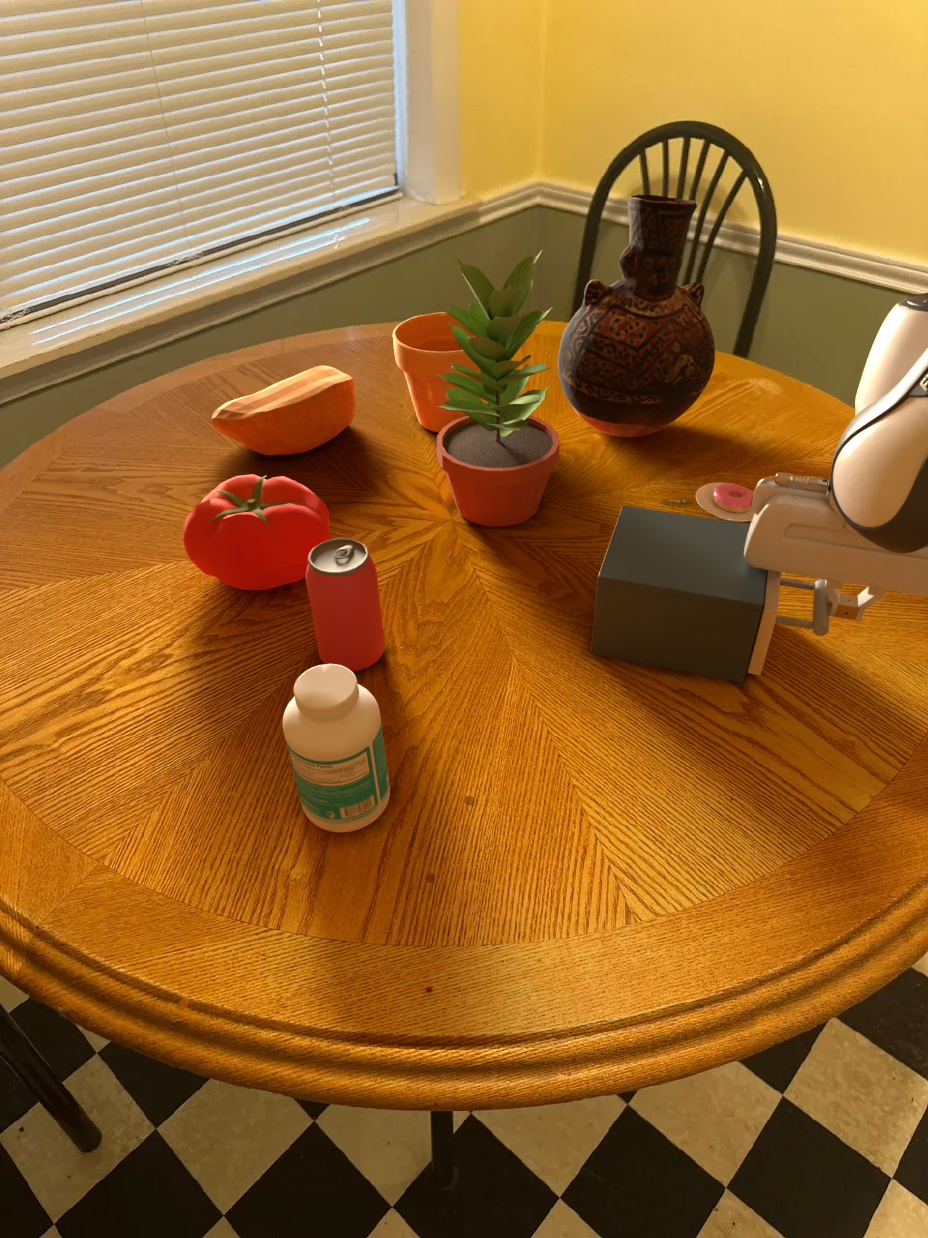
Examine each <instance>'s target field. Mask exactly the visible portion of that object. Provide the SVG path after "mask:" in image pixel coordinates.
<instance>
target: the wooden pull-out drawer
mask: <svg viewBox="0 0 928 1238" xmlns="http://www.w3.org/2000/svg"><path fill="white" fill-rule="evenodd" d="M781 587H787V588H793V589H798V590H804V591H805V590H806V591H811V592H812V591H813V592H812V593H813V594H812V620H808V619H803V618H797V617H792V616H786V615H780V614H778V613H779V602H780V591H781ZM829 603H830V598H829V596H828V593H827V591H826V589H825V579H817V580H816V581H815V582H811V581H807V580H806V581H805V580H800V579H795V578H789V577H782V572H776V571H770V570H767V572H766V582H765V592H764V602H763V608H762V611H761V615H760V619H759V623H758V627H757V631H756V635H755V639H754V642H753V646H752V650H751V654H750V658H749V662H748V666H747V670H746V673H747V674H752V675H756V676H761V675H762V671H763V669H764V664H765V661H766V657H767V653H768V649H769V647H770V646H769V645H770V642H771V638H772V635H773V631H774V628H775V624H777V625H783V626H789V627H795V628H799V629H800V628H801V629H808V630H811V631H812V633H813V634H814V635H815V636H817V637H824V636H826V635H828V633H829V632H830V616H829Z"/></svg>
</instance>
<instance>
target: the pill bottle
mask: <svg viewBox="0 0 928 1238" xmlns="http://www.w3.org/2000/svg"><path fill="white" fill-rule="evenodd" d="M293 695H294V696H293V697H292V699H290V701H289V702H288V704H287V706H286V708H285V710H284V712H283V717H282V731H283V735H284V739H285V744H286V748H287V751H288V756H289V759H290V760H289V761H290V763H291V767H292V773H293V776H294V780H295V784H296V785H295V786H296V788H297V792H298V796H299V800H300V804H301V807H302V810H303V813H304V814H305V816H306V817H307V819H308V820H309V821H310V822H311V823H312V824H313V825H314V826H316V827H318V828H319V829H322V830H324V831H328V832H332V833H350V832H355V831H358V830H361V829H363V828H366V827H368V826H369V825H371V824H372V823H374V822H375V821H376V820H377V819H378V818H379V817H381V815H382V814H383V812H384V811H385V810H386V808H387V806H388V803H389V800H390V796H391V784H390V777H389V769H388V763H387V755H386V754H387V753H386V747H385V740H384V739H385V738H384V732H383V726H382V725H383V723H382V717H381V711H380V706H379V704H378V702H377V700H376V698H375V696H374V695H373V694H372V693H371V692H370V691H369V690H368V689H367V688H365V687H364V686H363V685H361V684H359V683H358V680H357V676H356V674H355V673H354V671H353V672H352V671H351V670H349V669H348V668H346V667H344V666H341V665H336V664H324V663H323V664H319V665H316V666H313V667H311V668H308V669H307V670H305V671H304V672H303V673H301V674H300V675H299V676H298V678H297V679H296V680H295V683H294V685H293Z"/></svg>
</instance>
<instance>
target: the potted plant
mask: <svg viewBox="0 0 928 1238" xmlns="http://www.w3.org/2000/svg"><path fill="white" fill-rule="evenodd" d="M543 250H544V248H542V249H541V250H540V251H539V253H538V254H537V256H536V255H535V256H527V257H525V258H523V259H522V260H521V261H520V262H519V263H517V265H516V266H515V268H514V269H513V270H512V271H511V273H510V275H509V276H508V278H507V279H506V281H505V282H504V285H503V286H502V288H501V289H495V287H494V286H493V284H492V282H491V281H490V279H489V278H488V277H487V276H486V274H485V273H484V271H483V272H482V270H481V269H480V268H478V266H477V267H476V266H475V265H473V264H472V265H471V264H465V263H462V261H461V260H460V259H459V257H458V256H456V258H455V259H456V260H457V262H458V265H459V271H460V272H461V274H462V276H463V278H464V280H465V281H466V283H467V285H468V287H469V289H470V290H471V291H472V294H473V295H474V297H475V299H474V300H473V301H471V302H470V303H469V305H468V310H469V311H467V310H465V309H464V308H461V307H459V306H456V305H451V306H445V307H444V306H443V305H441V304H440V303H438V302H436V305H438V306H439V307H440V309H442V310H443V312H446V313H447V314H448V315H450V316H451V317H452V318H453V319H455V320H456V321H457V322H458V323H460V324H461V325H462V326H463V327H465V328H466V329H467V330H468V331H470V332H471V333H472V334H473V335H475V336H474V337H471V336H470V335H469V334H468V333H466V332H465V331H464V330H463V329H462V328H460V327H458V326H453V325H452V324H451V323H450V322H449V321H448V320H447V322H448V323H449V324H450V326H451V327H452V330H453V334H454V337H455V339H456V341H457V343H458V344H459V345H460V347H461V348H462V349H463V351H464V352H465V353H466V354H467V355H468V357H469V358H470V359H471V360H472V361H473V362H474V364H475V365H476V366H477V367H478V368H479V369H480V373H481V374H479V373H478V372H476V371H474V370H472V369H470V368H468V367H465V366H463V365H459V364H453V365H452V367H451V366H449V365H447V366H449V367H451V368H453V369H455V370H457V371H459V372H461V373H463V374H465V375H467V376H469V377H471V378H473V379H474V380H472V379H470V378H468V377H466V376H464V375H460V374H457V373H452V372H450V373H446V374H444V375H442V376H440V375H437V374H435V373H434V374H435V375H437V376H439V377H440V378H442V379H444V380H445V381H447V382H449V383H451V384H453V385H455V386H457V387H459V388H452V389H449V388H447V387H445V386H444V385H442V386H443V387H444V388H445V389H446V391H447V397H448V398H449V400H450V401H446V402H444V403H443V405H442V406H435V407H440V408H445V409H448V410H453V411H461V412H464V413H465V414H466V415H467V416H464V417H461V418H459V419H456V420H454V421H452V422H451V423H449V424H448V425H446V426H445V427H443V428H442V430H441V431H440V433H439V432H438V434H437V435H436V461H437V463H438V464H439V466H440V468H441V469H442V470H443V471H444V474H445V477H446V479H447V482H448V485H449V488H450V492H451V495H452V497H453V500H454V503H455V507H456V509H457V511H458V513H459V515H461V516H462V517H463V518H464V519H466V520H467V521H468V522H471V523H474V524H477V525H479V526H486V527H492V528H496V527H498V528H499V527H501V528H502V527H509V526H514V525H519V524H521V523H524V522H526V521H528V520H529V519H530V518H532V517H533V516H534V515H535V514H536V513H537V510H538V509H539V506H540V503H541V501H542V498H543V494H544V491H545V489H546V485H547V483H548V479H549V477H550V474H551V471H552V470H553V469H554V468H555V467H556V465H557V462H558V461H559V458H560V445H561V444H560V443H561V442H560V437H559V433H558V431H556V429H555V428H554V427H553V426H552V425H551V424H550V423H548V422H546V421H545V420H542V419H541V418H539V417H535V416H533V415H532V414H533V413H534V412H535V411H536V410H537V409H538V408H539V406H540V405H541V404H542V403H544V400H546V399H545V398H546V392H547V390H548V389H549V388H550V386H551V385H548V386H546V387H545V388H544V389H530V390H527V391H526V392H524V393H523V391H524V389H525V388H526V386H527V385H528V382H529V380H530V378H531V376H534V375H536V374H539V373H542V372H545V371H547V370H550V369H552V368H553V367H548V366H547V364H546V363H545V362H538V363H534V364H530V365H529V363H526V365H525V366H524V367H522V368H520V366H522V365H524V364H525V362H527V361H528V360H529V359H530V358H531V357H532V355H531V354H528V355H526V356H525V357H523V358H522V359H521V360H512V359H513V358H514V356H515V355H516V354H517V352H518V351H519V350H520V349H521V348H522V346H524V344H525V343H526V341H528V339H529V337H530V336H531V335H532V334H533V333H534V331H535V330H536V329H537V327H539V326H540V323H541V322H542V321H543V320H545V318H546V316H547V315H548V314H549V313H550V312H551V310H552V309H553V308H554V306H553V305H552V306H551V307H550V308H549V309H548V310H546V311H545V310H533V311H531V312H528V313H527V314H526V313H523V314H521V315H518V313H519V312H520V310H521V308H522V307H523V305H524V303H525V301H526V300H527V298H528V296H529V294H530V293H531V290H532V289H533V287H534V284H535V283H534V281H533V279H532V276H533V273H534V269H533V268H534V266H535V264H537V261H538V260H539V258H540V256H541V254H542V252H543ZM525 314H526V315H525ZM518 368H520V369H518ZM475 380H476V381H478V382H480V383H482V384H480V383H478V382H476V381H475ZM478 397H479V398H481V399H483V401H482V400H481V399H479V398H478ZM484 401H485V402H484Z"/></svg>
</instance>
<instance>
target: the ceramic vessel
mask: <svg viewBox="0 0 928 1238" xmlns="http://www.w3.org/2000/svg"><path fill="white" fill-rule="evenodd" d="M697 207H698V204H697V201H695V200H692V199H685V198H684V199H683V198H678V197H668V196H662V195H658V194H648V193H647V194H646V193H645V194H644V193H643V194H639V193H638V194H635V195H629V196H628V197H627V213H628V221H629V222H628V223H629V235H628V237H629V238H628V239H629V240H628V244H627V246H626V247H625V248H624V250H623V251H622V252H621V254H620V256H619V259H618V269H619V270H620V273H621V277H620V279H618V280H617V281H615V282H613V283H612V284H610V285H606V284H604V283H603V282H602V281H601V280H600V279H596V278H592V279H590V280H589V281H588V282H587V284H586V286H585V288H584V292H583V300H582V304H581V307H580V308H579V309H578V310H577V311H576V312H575V313H574V315H573V316H572V318H571V319H570V321H569V322H568V323H567V325H566V327H565V328H564V330H563V331H562V335H561V339H560V343H559V350H558V355H557V375H558V380H559V383H560V387H561V390H562V393H563V395H564V398H565V399H566V400H567V402H568V403H569V405H570V406H571V408H572V409H573V411H574V412H575V413H576V414H577V416H578V417H579V418H580V419H581V420H582V421H583V422H584V423H586V424H587V425H588V426H589V427H590V428H593V429H594V430H596V431H597V432H600V433H602V434H605V435H609V436H612V437H616V438H639V437H645V436H647V435H651V434H654V433H656V432H658V431H660V430H662V429H664V428H665V427H667V426H669V425H670V424H672V423H673V422H676V420H677V419H679V418H680V417H681V416H683V415H684V414H685V413H686V412H687V411H688V410H689V409H690V408H691V407H692V406H693V405H694V404H695V403H696V402H697V400H698V399H699V398H700V397H701V395H702V393H703V391H704V390H705V388H706V387H707V385H708V383H709V382H710V380H711V377H712V375H713V371H714V367H715V362H716V348H715V339H714V335H713V331H712V328H711V325H710V322H709V321H708V319H707V316H706V315H705V314H704V313H703V310H702V304H703V299H704V296H705V286H704V284H702V283H701V282H697V281H696V282H695V281H694V282H692V283H688V284H686V285H684V286H680V285H678V284H677V283H676V282H675V278H676V276H677V275H678V274H679V272H680V270H681V268H682V265H683V260H684V251H683V249H682V247H681V244H682V242H683V239H684V237H685V233H686V231H687V228H688V226H689V224H690V221H691V220H692V217H693V215H694V214H695V212H696V210H697Z"/></svg>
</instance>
